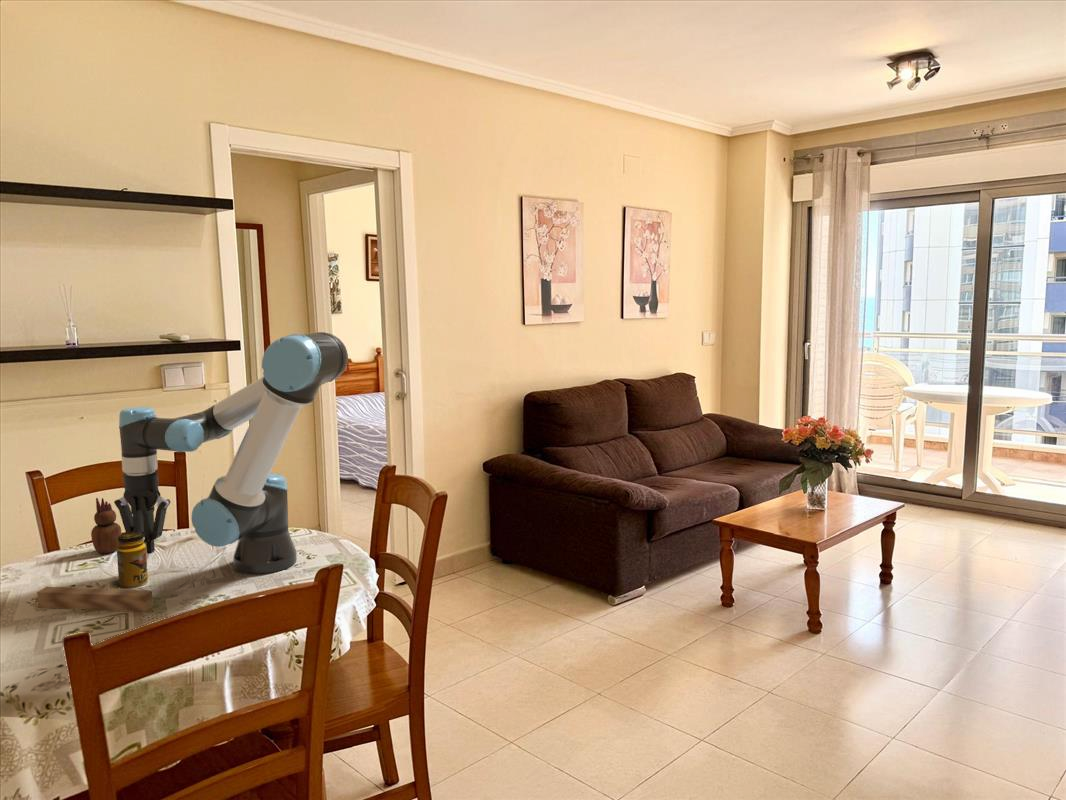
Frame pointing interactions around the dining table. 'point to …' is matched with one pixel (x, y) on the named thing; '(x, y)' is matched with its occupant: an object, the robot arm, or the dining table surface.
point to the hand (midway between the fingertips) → (146, 565)
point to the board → (95, 599)
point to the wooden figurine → (105, 529)
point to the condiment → (131, 562)
